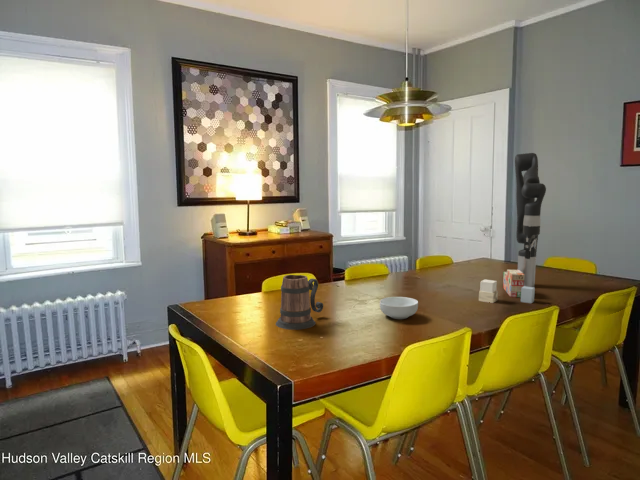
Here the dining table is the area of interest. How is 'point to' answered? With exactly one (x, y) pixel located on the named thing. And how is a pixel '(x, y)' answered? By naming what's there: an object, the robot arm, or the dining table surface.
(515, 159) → the robot arm
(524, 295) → the slate block
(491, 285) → the tower middle
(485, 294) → the tower base
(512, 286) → the printed cardboard box
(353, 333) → the dining table surface
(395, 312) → the cereal bowl
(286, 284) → the tankard
